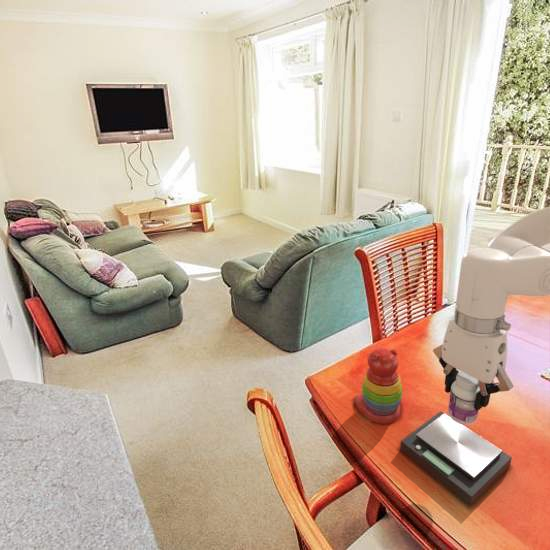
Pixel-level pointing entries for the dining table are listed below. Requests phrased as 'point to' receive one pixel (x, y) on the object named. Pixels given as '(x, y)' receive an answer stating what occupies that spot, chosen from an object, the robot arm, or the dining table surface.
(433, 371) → the dining table surface
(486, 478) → the scale
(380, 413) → the stacking bear
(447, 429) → the weighing pan
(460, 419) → the pill bottle
